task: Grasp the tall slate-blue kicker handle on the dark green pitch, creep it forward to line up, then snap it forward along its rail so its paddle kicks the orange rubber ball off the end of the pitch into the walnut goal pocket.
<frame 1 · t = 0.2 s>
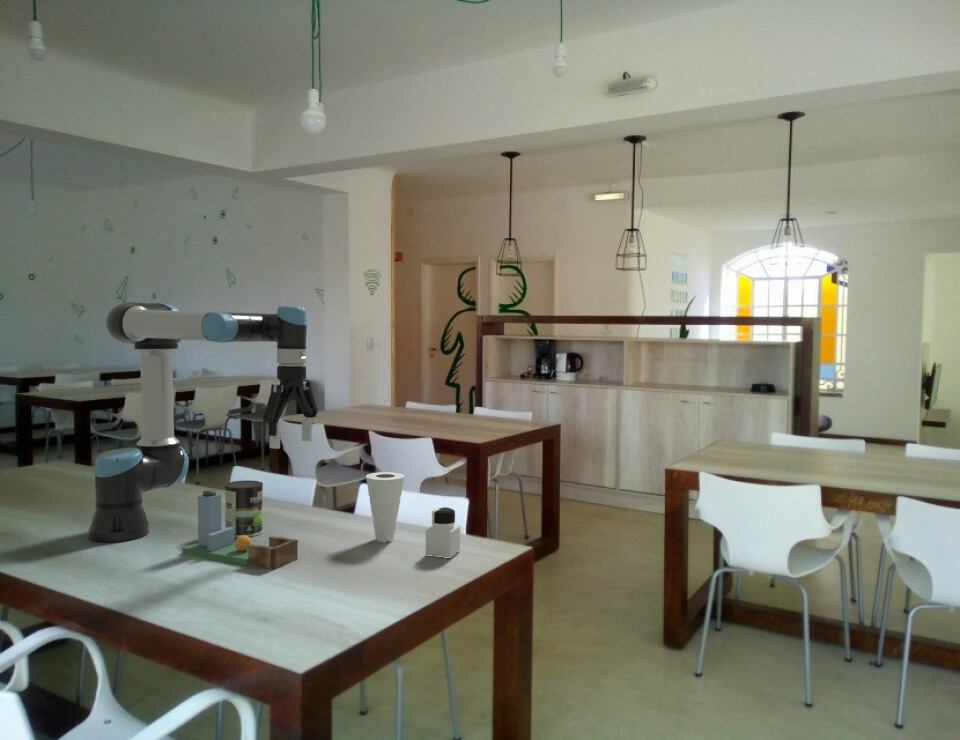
hand: (291, 444, 196), 27 cm above the table, fingers open, 13 cm apart
goal: (273, 562, 184), on the table
pitch: (227, 553, 189), on the table
ball: (243, 543, 187), point 3 cm above the table, touching pitch
medicine bottle: (442, 554, 193), on the table
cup: (384, 540, 205), on the table
coffee can: (244, 533, 209), on the table
kicker: (213, 518, 191), point 9 cm above the table, slide at 0.0 cm
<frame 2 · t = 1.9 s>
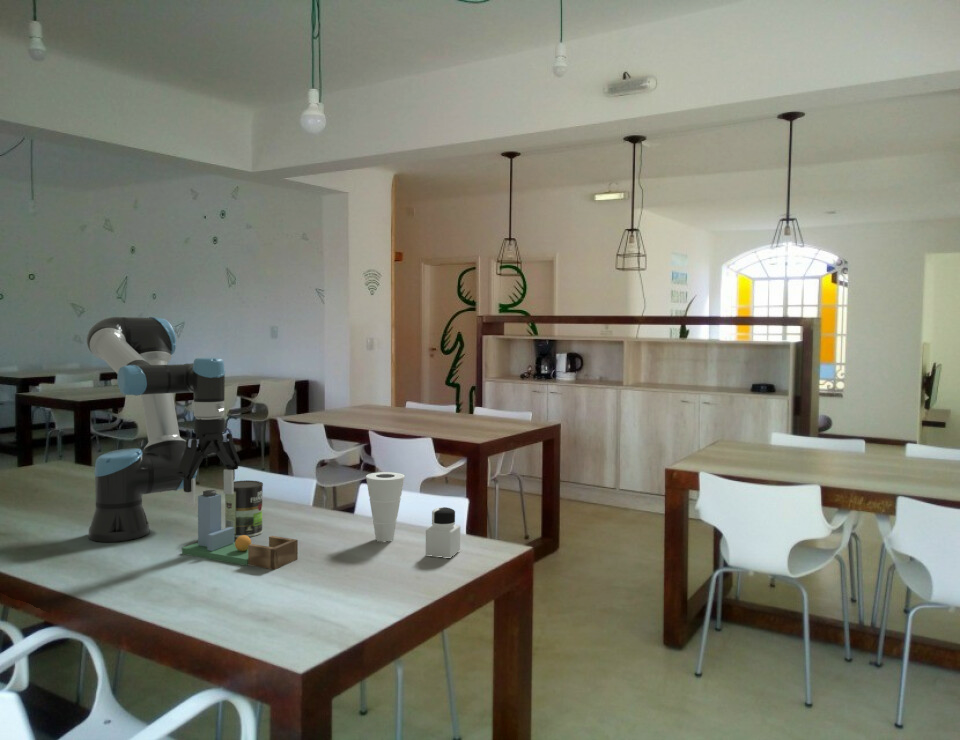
hand: (210, 499, 191), 14 cm above the table, fingers open, 13 cm apart
nothing on the table moved.
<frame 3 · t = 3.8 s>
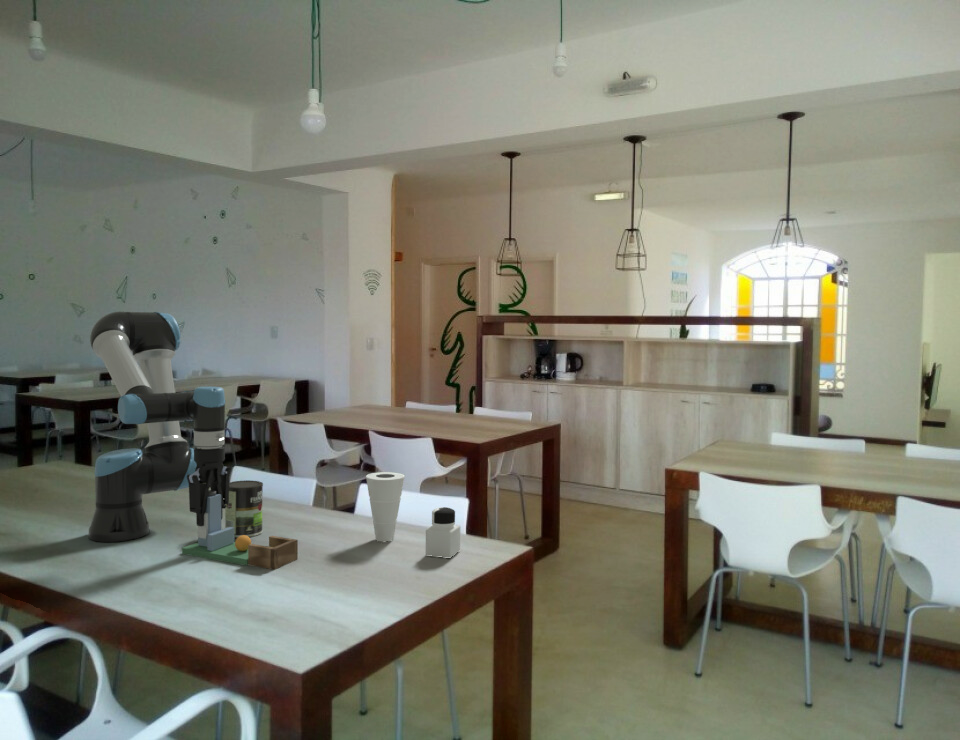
hand: (209, 535, 192), 4 cm above the table, fingers closed on kicker, 4 cm apart
kicker: (213, 518, 191), point 9 cm above the table, slide at 0.0 cm, touching gripper
everything else where it was.
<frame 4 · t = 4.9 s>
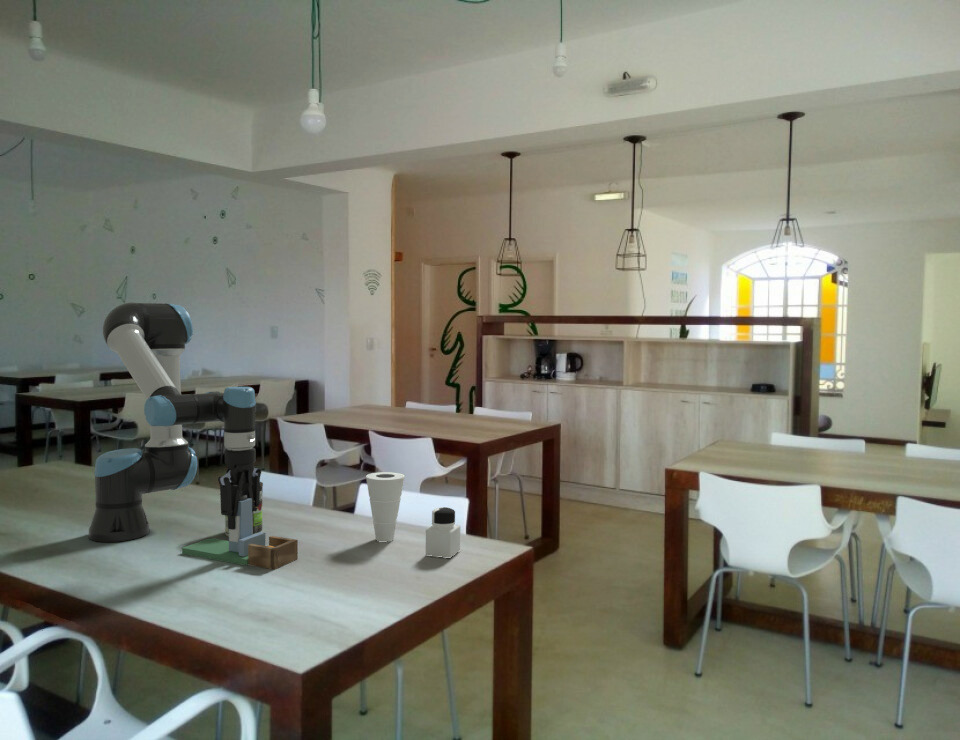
hand: (241, 538, 187), 5 cm above the table, fingers closed on kicker, 4 cm apart
ball: (269, 553, 184), point 2 cm above the table, tilted 150°
kicker: (244, 523, 187), point 9 cm above the table, slide at 10.2 cm, touching gripper
everything else where it was.
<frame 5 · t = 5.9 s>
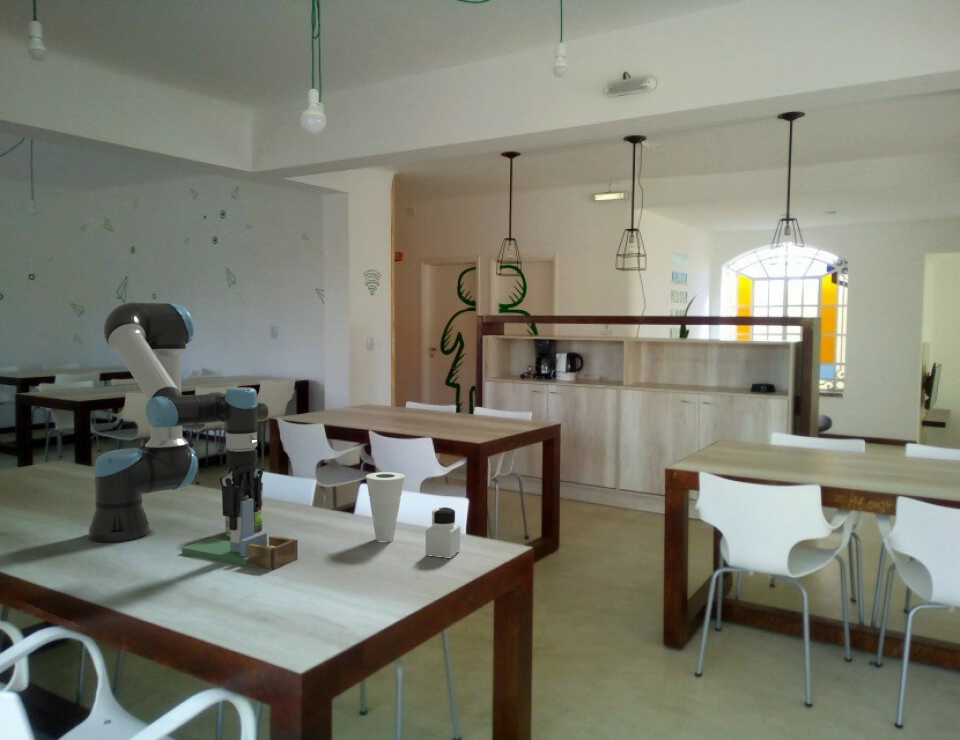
hand: (242, 539, 187), 4 cm above the table, fingers closed on kicker, 4 cm apart
ball: (270, 553, 184), point 2 cm above the table, tilted 128°
kicker: (246, 523, 187), point 9 cm above the table, slide at 10.6 cm, touching gripper
everything else where it was.
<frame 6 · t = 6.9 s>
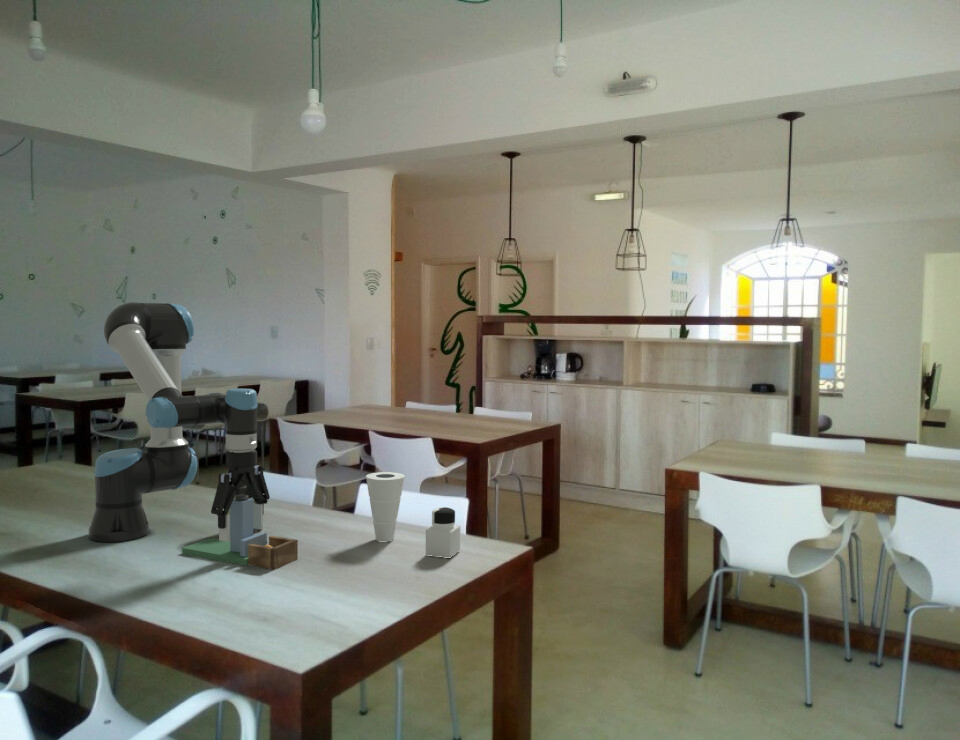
hand: (241, 534, 187), 6 cm above the table, fingers open, 11 cm apart
ball: (266, 553, 184), point 2 cm above the table, tilted 164°
kicker: (245, 523, 187), point 9 cm above the table, slide at 10.6 cm
everything else where it was.
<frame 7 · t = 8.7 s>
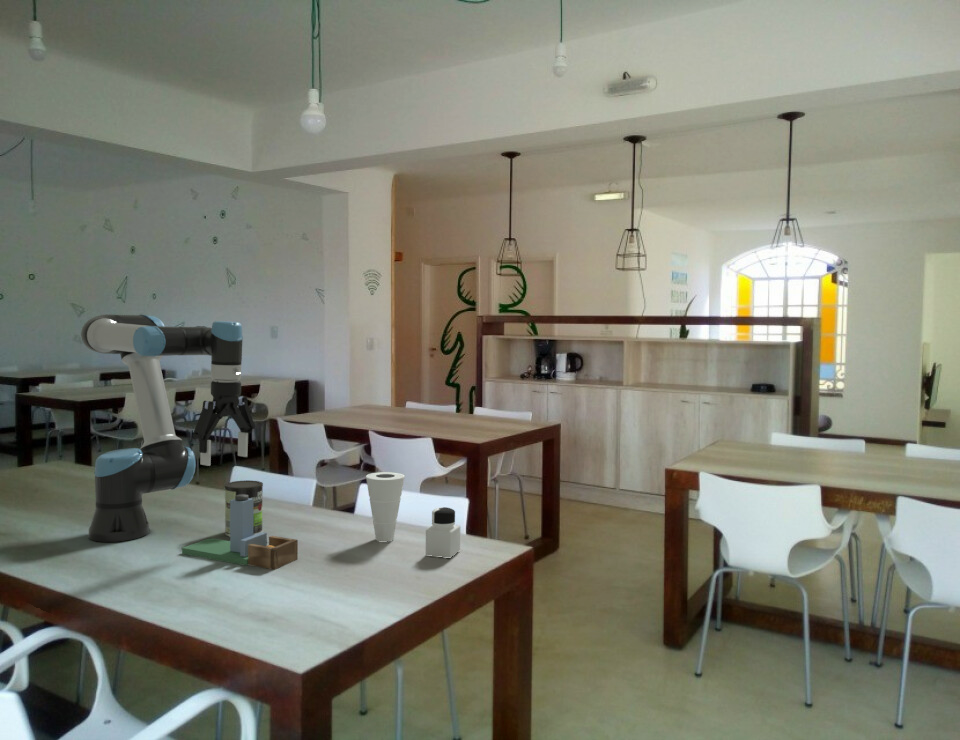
hand: (224, 460, 194), 23 cm above the table, fingers open, 13 cm apart
ball: (269, 553, 184), point 2 cm above the table, tilted 141°
everything else where it was.
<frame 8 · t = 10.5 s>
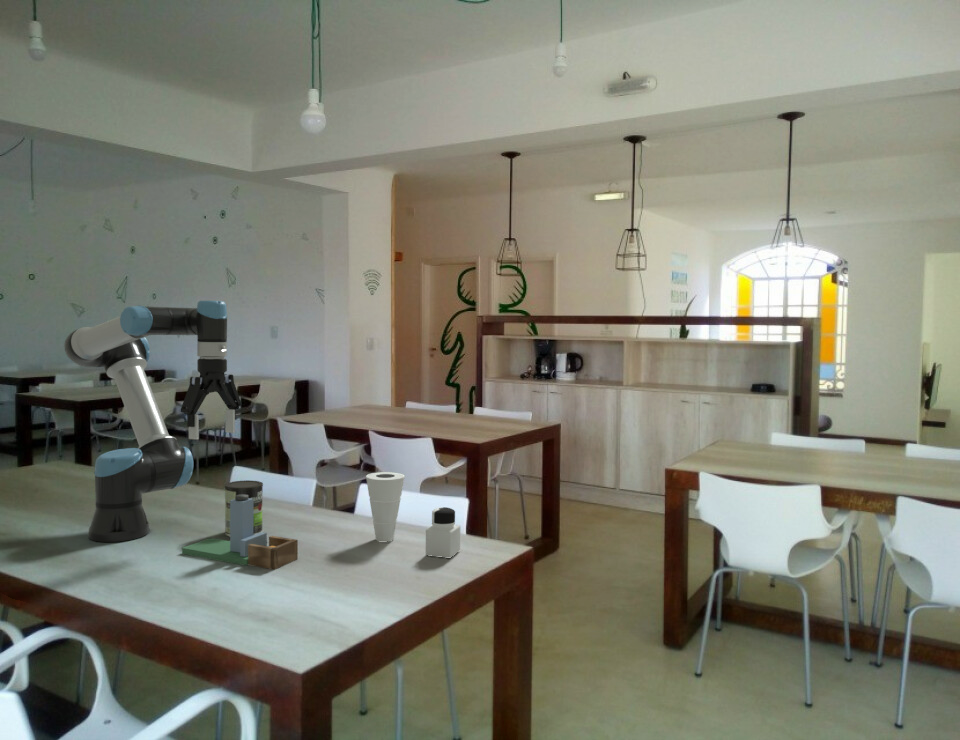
hand: (212, 435, 200), 29 cm above the table, fingers open, 13 cm apart
ball: (271, 553, 184), point 2 cm above the table, tilted 119°
everything else where it was.
at the end: ball inside the target area (0.6 cm from its centre), point 2.0 cm above the table; kicker slide at 10.6 cm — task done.
